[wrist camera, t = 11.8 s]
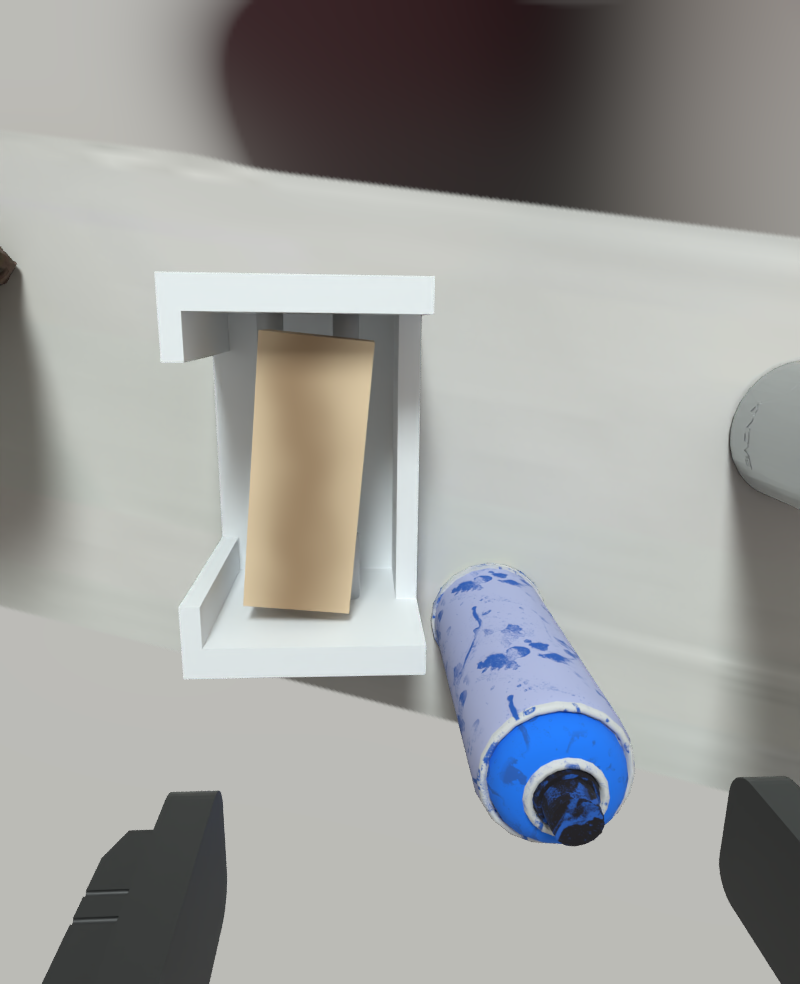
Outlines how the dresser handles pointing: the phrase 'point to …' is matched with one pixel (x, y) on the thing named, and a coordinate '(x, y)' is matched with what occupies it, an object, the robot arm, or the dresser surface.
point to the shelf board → (306, 469)
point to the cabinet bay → (385, 478)
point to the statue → (5, 266)
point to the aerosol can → (529, 710)
